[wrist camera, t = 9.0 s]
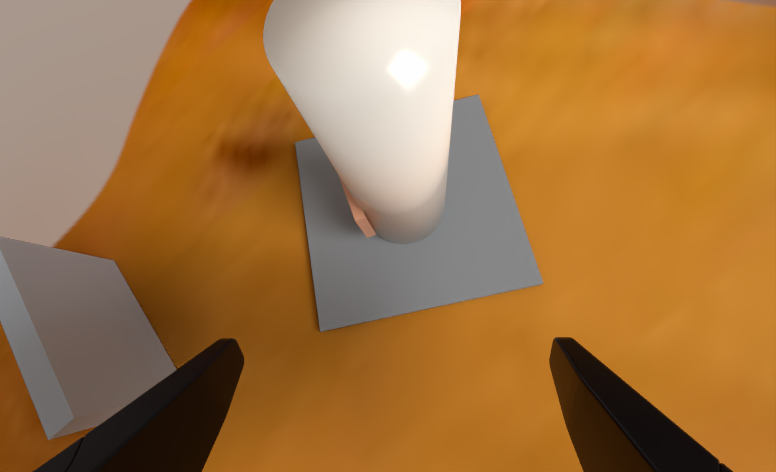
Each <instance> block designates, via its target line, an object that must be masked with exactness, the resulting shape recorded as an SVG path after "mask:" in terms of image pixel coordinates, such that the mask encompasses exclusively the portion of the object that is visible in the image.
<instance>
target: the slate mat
mask: <svg viewBox="0 0 776 472" xmlns="http://www.w3.org/2000/svg"><path fill="white" fill-rule="evenodd" d="M295 147H296V154H297V162H298V169H299V177H300V184H301V192H302V199H303V207H304V214H305V222H306V229H307V237H308V244H309V252H310V259H311V267H312V274H313V282H314V289H315V297H316V304H317V312H318V319H319V327H320V332H322V331H327V330H332V329H336V328H341V327H346V326H350V325H355V324H360V323H364V322H369V321H374V320H378V319H383V318H388V317H392V316H397V315H402V314H406V313H411V312H415V311H420V310H425V309H429V308H434V307H439V306H443V305H448V304H453V303H457V302H462V301H467V300H471V299H476V298H481V297H485V296H490V295H494V294H499V293H504V292H508V291H513V290H518V289H522V288H527V287H532V286H536V285H541V284H543V281H542V278H541V275H540V272H539V269H538V266H537V263H536V260H535V258H534V255H533V252H532V249H531V246H530V243H529V240H528V237H527V234H526V231H525V228H524V226H523V223H522V220H521V217H520V214H519V211H518V208H517V205H516V202H515V199H514V196H513V194H512V191H511V188H510V185H509V182H508V179H507V176H506V173H505V170H504V167H503V164H502V161H501V159H500V156H499V153H498V150H497V147H496V144H495V141H494V138H493V135H492V132H491V129H490V127H489V124H488V121H487V118H486V115H485V112H484V109H483V106H482V103H481V100H480V97H479V95H474V96H470V97H466V98H463V99H459V100H455V101H453V111H452V123H451V135H450V147H449V159H448V171H447V183H446V195H445V207H444V214H443V217H442V220H441V222H440V224H439V225H438V227H437V228H436V229H435V231H434V232H433V233H431V234H430V235H429V236H428V237H426V238H425V239H423V240H421V241H418V242H415V243H411V244H396V243H392V242H389V241H387V240H385V239H383V238H381V237H380V236H378V235H377V234H376V235H374V236H371V237H369V238H367V237H366V235H365V234H364V233H363V231H362V230H361V229H360V227H359V226H358V224H357V223H356V222H355V219H354V216H353V214H352V211H351V208H350V205H349V203H348V200H347V197H346V194H345V192H344V189H343V186H342V183H341V181H340V178H339V175H338V173H337V171H336V170H335V168H334V167H333V165H332V163H331V162H330V160H329V159H328V157H327V155H326V154H325V152H324V150H323V149H322V147H321V146H320V144H319V142H318V141H317V139H316V138H315V137H314V138H310V139H306V140H303V141H299V142H295Z"/></svg>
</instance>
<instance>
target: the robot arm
mask: <svg viewBox="0 0 776 472" xmlns="http://www.w3.org/2000/svg"><path fill="white" fill-rule="evenodd" d="M549 362H550V368H551V372H552V376H553V380H554V383H555V387H556V391H557V394H558V398H559V402H560V405H561V409H562V413H563V417H564V420H565V423H566V427H567V430H568V432H569V435H570V438H571V440H572V443H573V446H574V448H575V451H576V453H577V456H578V458H579V461H580V464H581V466H582V469H583V471H584V472H733V471H732V470H730V469H729V468H728V467H727V466H726V465H724V464H722V463H719V460H718V459H717V458H716V457H715V456H713V455H712V454H711V453H710V452H709V451H707V450H706V449H705V448H704V447H703V446H701V445H700V444H699V443H698V442H697V441H695V440H694V439H693V438H692V437H691V436H689V435H688V434H687V433H686V432H685V431H683V430H682V429H681V428H680V427H679V426H677V425H676V424H675V423H674V422H673V421H671V420H670V419H669V418H668V417H667V416H665V415H664V414H663V413H662V412H661V411H659V410H658V409H657V408H656V407H655V406H653V405H652V404H651V403H650V402H649V401H647V400H646V399H645V398H644V397H643V396H641V395H640V394H639V393H638V392H637V391H635V390H634V389H633V388H632V387H631V386H629V385H628V384H627V383H626V382H625V381H623V380H622V379H621V378H620V377H619V376H617V375H616V374H615V373H614V372H613V371H611V370H610V369H609V368H608V367H607V366H605V365H604V364H603V363H602V362H601V361H599V360H598V359H597V358H596V357H595V356H593V355H592V354H591V353H590V352H589V351H587V350H586V349H585V348H584V347H583V346H581V345H580V344H579V343H578V342H577V341H575V340H574V339H573V338H570V337H556V338H554V340H553V343H552V349H551V354H550V359H549ZM243 366H244V356H243V354H242V352H241V349H240V347H239V345H238V343H237V341H236V340H235V339H233V338H222V339H219V340H218V341H216V342H215V343H213V344H212V345H211V346H209V347H208V348H206V349H205V350H204V351H202V352H201V353H199V354H198V355H197V356H195V357H194V358H192V359H191V360H190V361H188V362H187V363H185V364H184V365H183V366H181V367H180V368H178V369H177V370H176V371H174V372H173V373H171V374H170V375H169V376H167V377H166V378H164V379H163V380H162V381H160V382H159V383H157V384H156V385H155V386H153V387H152V388H150V389H149V390H148V391H146V392H145V393H143V394H142V395H141V396H139V397H138V398H136V399H135V400H134V401H132V402H131V403H129V404H128V405H127V406H125V407H124V408H122V409H121V410H120V411H118V412H117V413H115V414H114V415H113V416H111V417H110V418H108V419H107V420H106V421H104V422H103V423H101V424H100V425H99V426H97V427H96V428H94V429H93V430H92V431H90V432H89V433H87V434H86V435H85V437H82V438H80V439H79V440H77V441H76V442H75V443H73V444H72V445H70V446H69V447H68V448H66V449H65V450H63V451H62V452H61V453H59V454H58V455H56V456H55V457H53V458H52V459H50V460H49V461H48V462H46V463H45V464H43V465H42V466H40V467H39V468H38V469H36V470H35V471H33V472H202V470H203V468H204V465H205V463H206V461H207V459H208V456H209V454H210V452H211V450H212V447H213V445H214V443H215V441H216V438H217V436H218V434H219V432H220V429H221V427H222V425H223V423H224V420H225V418H226V415H227V413H228V410H229V407H230V404H231V401H232V398H233V395H234V392H235V389H236V386H237V383H238V381H239V378H240V375H241V372H242V369H243Z"/></svg>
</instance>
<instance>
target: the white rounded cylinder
mask: <svg viewBox="0 0 776 472" xmlns="http://www.w3.org/2000/svg"><path fill="white" fill-rule="evenodd" d="M460 15H461V2H460V0H274V1H273V3H272V4H271V6H270V9H269V11H268V14H267V16H266V20H265V24H264V33H263V40H264V48H265V52H266V56H267V58H268V60H269V63H270V65H271V66H272V68H273V70H274V71H275V73H276V74H277V76H278V78H279V79H280V81H281V83H282V84H283V86H284V87H285V89H286V91H287V92H288V94H289V96H290V97H291V99H292V100H293V102H294V104H295V105H296V107H297V108H298V110H299V112H300V113H301V115H302V117H303V118H304V120H305V121H306V123H307V125H308V126H309V128H310V129H311V131H312V133H313V134H314V136H315V138H316V139H317V141H318V142H319V144H320V146H321V147H322V149H323V150H324V152H325V154H326V155H327V157H328V159H329V160H330V162H331V163H332V165H333V167H334V168H335V170H336V171H337V173H338V175H339V178H340V181H341V183H342V186H343V189H344V192H345V194H346V197H347V200H348V203H349V205H350V208H351V211H352V214H353V216H354V219H355V222H356V223H357V224H358V226H359V227H360V229H361V230H362V231H363V233H364V234H365V235H366V237H367V238H369V237H371V236H374V235H376V234H377V235H378V236H380V237H381V238H383V239H385V240H387V241H389V242H392V243H396V244H411V243H415V242H418V241H421V240H423V239H425V238H426V237H428V236H429V235H430V234H431V233H433V232H434V231H435V229H436V228H437V227H438V225H439V224H440V222H441V220H442V217H443V214H444V207H445V195H446V183H447V171H448V159H449V147H450V135H451V123H452V111H453V99H454V87H455V75H456V63H457V51H458V39H459V27H460Z"/></svg>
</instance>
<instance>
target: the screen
mask: <svg viewBox="0 0 776 472" xmlns="http://www.w3.org/2000/svg"><path fill="white" fill-rule="evenodd" d="M0 321H1V324H2V326H3V329H4V331H5V334H6V336H7V339H8V341H9V344H10V346H11V349H12V351H13V354H14V356H15V359H16V361H17V364H18V366H19V369H20V371H21V374H22V376H23V379H24V381H25V384H26V386H27V389H28V391H29V394H30V396H31V399H32V401H33V404H34V406H35V409H36V411H37V414H38V416H39V418H40V421H41V423H42V426H43V428H44V431H45V433H46V436H47V438H48V440H51V439H54V438H58V437H61V436H65V435H68V434H71V433H75V432H78V431H82V430H85V429H89V428H92V427H95V426H99V425H100V424H101V423H103V422H104V421H106V420H107V419H108V418H110V417H111V416H113V415H114V414H115V413H117V412H118V411H120V410H121V409H122V408H124V407H125V406H127V405H128V404H129V403H131V402H132V401H134V400H135V399H136V398H138V397H139V396H141V395H142V394H143V393H145V392H146V391H148V390H149V389H150V388H152V387H153V386H155V385H156V384H157V383H159V382H160V381H162V380H163V379H164V378H166V377H167V376H169V375H170V374H171V373H173V372H174V371H176V370H177V369H176V368H175V366H174V364H173V362H172V361H171V359H170V357H169V355H168V354H167V352H166V350H165V349H164V347H163V345H162V343H161V342H160V340H159V338H158V336H157V335H156V333H155V331H154V329H153V328H152V326H151V324H150V322H149V321H148V319H147V317H146V315H145V314H144V312H143V310H142V308H141V307H140V305H139V303H138V301H137V300H136V298H135V296H134V294H133V293H132V291H131V289H130V287H129V286H128V284H127V282H126V280H125V279H124V277H123V275H122V273H121V272H120V270H119V268H118V267H117V265H116V263H115V261H114V260H110V259H105V258H100V257H95V256H90V255H86V254H81V253H76V252H71V251H67V250H62V249H57V248H52V247H47V246H43V245H37V244H33V243H28V242H23V241H18V240H13V239H9V238H4V237H0Z"/></svg>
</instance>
